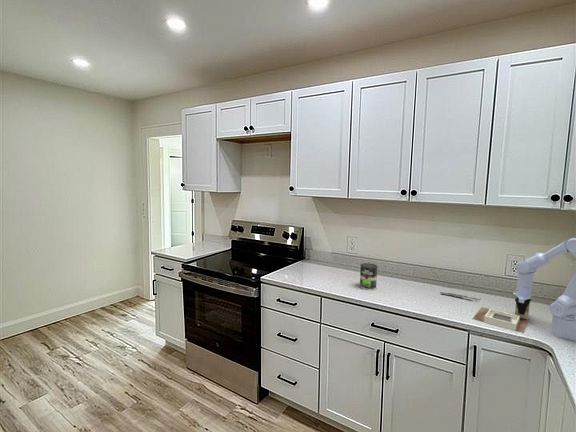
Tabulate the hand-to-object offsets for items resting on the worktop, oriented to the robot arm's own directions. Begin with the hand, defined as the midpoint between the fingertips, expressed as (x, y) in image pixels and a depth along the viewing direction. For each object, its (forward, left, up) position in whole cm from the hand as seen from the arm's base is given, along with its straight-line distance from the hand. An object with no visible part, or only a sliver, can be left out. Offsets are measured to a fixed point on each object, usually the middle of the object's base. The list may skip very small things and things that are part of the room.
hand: (521, 313), depth 150 cm
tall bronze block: (0, 0, -2) cm, 2 cm away
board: (+7, +8, -3) cm, 11 cm away
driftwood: (+30, -12, -4) cm, 33 cm away
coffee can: (+76, +11, -4) cm, 77 cm away
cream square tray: (+6, +12, -3) cm, 14 cm away
